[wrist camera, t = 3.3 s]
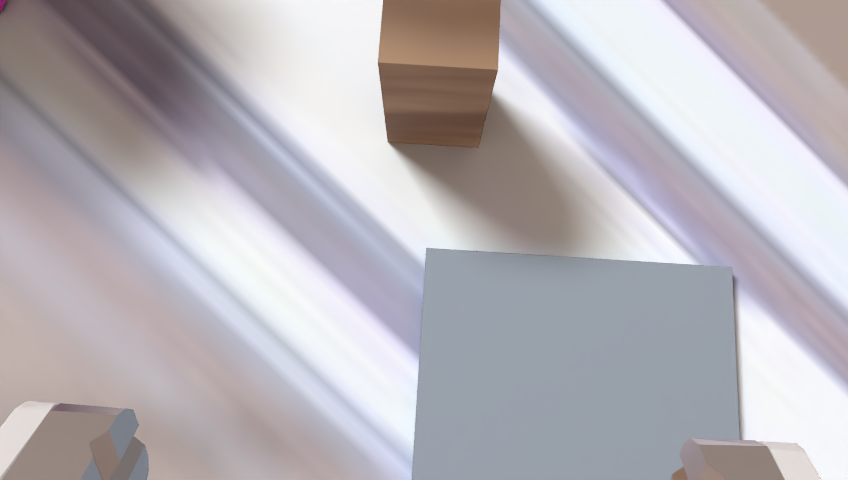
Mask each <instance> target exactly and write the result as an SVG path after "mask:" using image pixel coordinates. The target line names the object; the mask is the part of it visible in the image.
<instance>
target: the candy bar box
mask: <svg viewBox="0 0 848 480" xmlns="http://www.w3.org/2000/svg"><path fill="white" fill-rule="evenodd" d="M6 1H7V0H0V13H1V11H2V9H3V7H4V5H5V3H6Z"/></svg>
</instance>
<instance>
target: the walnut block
mask: <svg viewBox="0 0 848 480" xmlns="http://www.w3.org/2000/svg"><path fill="white" fill-rule="evenodd" d="M500 3H501V0H383V10H382V22H381V33H380V45H379V57H378V66H379V74H380V82H381V90H382V98H383V107H384V115H385V123H386V131H387V139H388V142H396V143H412V144H428V145H444V146H460V147H476V148H478V145H479V141H480V138H481V134H482V130H483V126H484V122H485V118H486V114H487V110H488V106H489V102H490V98H491V94H492V91H493V87H494V83H495V79H496V75H497V71H498V53H499V28H500Z"/></svg>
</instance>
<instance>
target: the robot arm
mask: <svg viewBox="0 0 848 480" xmlns="http://www.w3.org/2000/svg"><path fill="white" fill-rule="evenodd" d="M138 426H139V424H138V421H137V419H136V416H135V413H134V411H133V410H131V409H125V408H113V407H101V406H88V405H76V404H64V403H46V402H32V401H26V402H25V403H23V404H21V405H20V406H18V407H17V408H15V409H14V410H13V412H12V413H11V414H10V416H9V417H8V418H7V420H6V421H5V422H4V423H3V425H2V426H1V427H0V480H147V476H148V472H149V467H148V454H147V451H146V447H145V445H144V444H143V443H141V442H140V441H139V440H138V439H137V438H135V437H134V436H133V435H134V434H135V432H136V430H137V428H138ZM679 455H680V458H681V461H682V464H683V466H684V467H682V468H680V469H679V470H677V471H676V472H674V473H673V474H672V475H671V478H670V480H821V478H820V477H819V475H818V473H817V471H816V470H815V468H814V466H813V464H812V463H811V461H810V459H809V458H808V456H807V454H806V452H805V451H804V449H802V448H801V447H800V446H799V445H798V444H797V443H781V442H762V441H761V442H757V441H753V440H728V439H704V438H689V439H688V440H687V441H686V442H685V443H684V444H683V447H682V449H681V452H680V454H679Z"/></svg>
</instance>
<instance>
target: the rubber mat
mask: <svg viewBox="0 0 848 480" xmlns="http://www.w3.org/2000/svg"><path fill="white" fill-rule="evenodd" d="M689 438H704V439H728V440H740V435H739V412H738V390H737V368H736V346H735V323H734V301H733V279H732V267H720V266H704V265H689V264H673V263H657V262H641V261H625V260H609V259H593V258H577V257H561V256H545V255H529V254H513V253H497V252H481V251H465V250H449V249H433V248H426V263H425V279H424V295H423V311H422V326H421V342H420V358H419V374H418V390H417V406H416V422H415V438H414V454H413V470H412V480H670V478H671V475H672V474H673V473H674V472H676V471H677V470H679V469H680V468H682V467H684V466H683V464H682V461H681V458H680V455H679V454H680V452H681V449H682V447H683V444H684V443H685V442H686V441H687V440H688V439H689Z"/></svg>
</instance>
